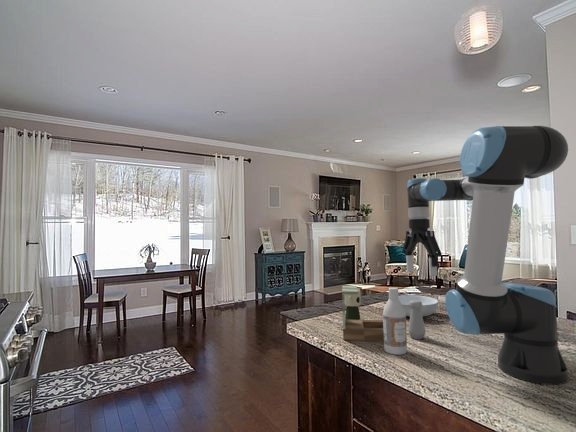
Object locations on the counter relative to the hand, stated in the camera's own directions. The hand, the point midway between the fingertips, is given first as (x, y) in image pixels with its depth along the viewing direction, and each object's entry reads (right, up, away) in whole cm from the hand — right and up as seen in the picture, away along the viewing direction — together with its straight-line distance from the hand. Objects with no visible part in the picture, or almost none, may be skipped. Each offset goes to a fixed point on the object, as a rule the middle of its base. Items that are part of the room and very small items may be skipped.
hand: (421, 273), depth 125 cm
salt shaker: (-5, -21, -9) cm, 24 cm away
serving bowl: (+5, -23, +21) cm, 31 cm away
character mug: (-24, -23, +13) cm, 35 cm away
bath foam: (-17, -21, -22) cm, 35 cm away
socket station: (-23, -22, -6) cm, 32 cm away
